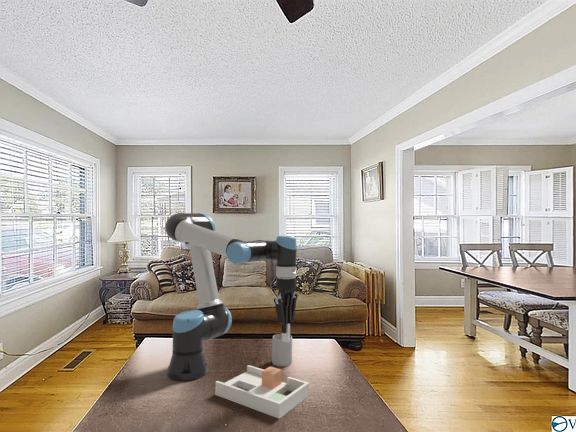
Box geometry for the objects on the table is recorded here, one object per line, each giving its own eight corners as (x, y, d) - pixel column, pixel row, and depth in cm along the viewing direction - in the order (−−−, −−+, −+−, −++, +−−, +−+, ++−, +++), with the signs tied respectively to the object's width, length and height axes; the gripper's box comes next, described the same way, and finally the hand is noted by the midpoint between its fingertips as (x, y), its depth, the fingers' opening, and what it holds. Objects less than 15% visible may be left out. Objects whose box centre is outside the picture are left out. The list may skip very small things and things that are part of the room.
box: (215, 394, 127) (215, 381, 127) (248, 376, 142) (248, 365, 142) (279, 418, 112) (279, 403, 112) (309, 395, 127) (309, 382, 127)
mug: (288, 367, 152) (289, 340, 152) (269, 365, 154) (269, 338, 154) (296, 357, 163) (296, 332, 163) (278, 355, 166) (278, 330, 166)
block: (261, 385, 129) (261, 371, 129) (270, 380, 134) (270, 366, 134) (273, 389, 127) (273, 374, 127) (281, 383, 131) (281, 369, 131)
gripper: (284, 280, 129) (284, 348, 129) (304, 276, 140) (303, 338, 140) (267, 278, 133) (267, 344, 133) (287, 274, 144) (287, 335, 144)
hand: (285, 341), depth 136 cm, fingers closed
